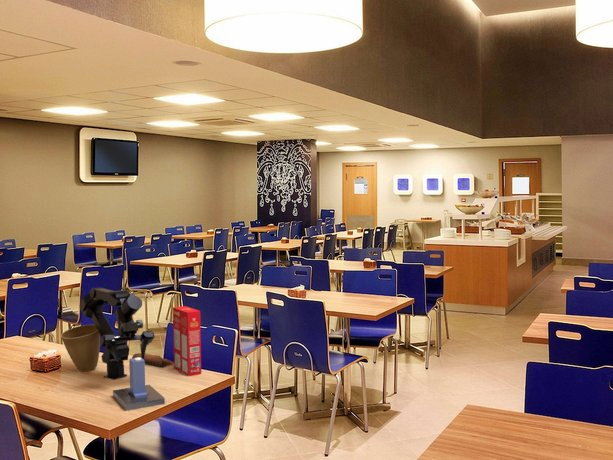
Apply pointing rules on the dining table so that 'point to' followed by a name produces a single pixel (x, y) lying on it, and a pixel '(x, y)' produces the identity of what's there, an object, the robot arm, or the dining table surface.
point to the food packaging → (187, 340)
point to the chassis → (132, 403)
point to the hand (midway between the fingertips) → (130, 360)
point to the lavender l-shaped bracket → (137, 378)
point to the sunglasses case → (154, 360)
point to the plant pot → (83, 346)
